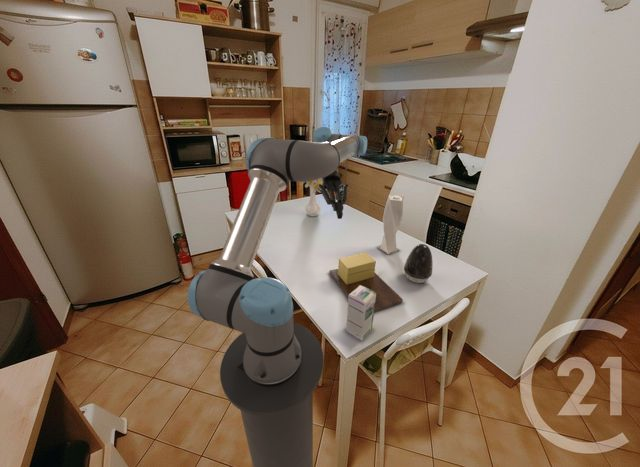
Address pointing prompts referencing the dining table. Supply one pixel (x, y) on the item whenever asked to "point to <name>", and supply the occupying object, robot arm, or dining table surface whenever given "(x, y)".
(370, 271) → the butter block
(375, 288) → the walnut board
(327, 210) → the dining table surface
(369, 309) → the syrup box
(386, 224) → the skyscraper
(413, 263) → the dark egg on stand
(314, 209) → the flower vase
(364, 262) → the butter slice
